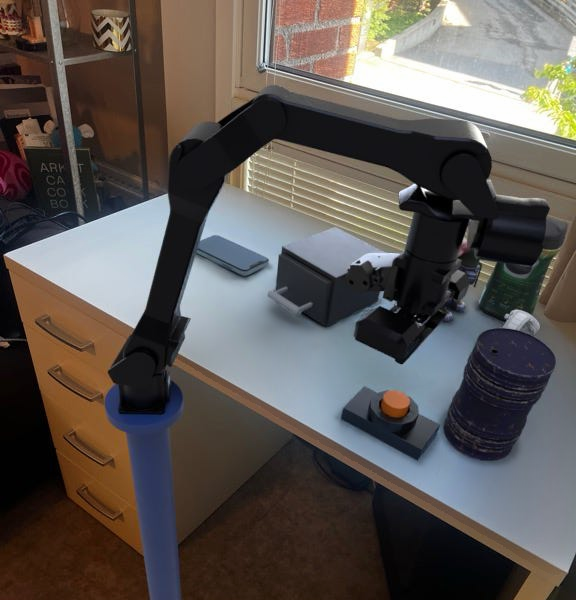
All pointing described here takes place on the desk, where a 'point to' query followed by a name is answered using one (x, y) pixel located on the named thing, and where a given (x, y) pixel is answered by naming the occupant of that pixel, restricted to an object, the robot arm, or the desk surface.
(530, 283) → the coffee jar
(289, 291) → the open black drawer
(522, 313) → the watch
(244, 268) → the smartphone
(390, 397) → the button
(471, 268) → the action figure
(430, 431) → the button panel
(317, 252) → the black drawer cabinet
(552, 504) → the desk surface
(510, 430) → the navy cylinder
